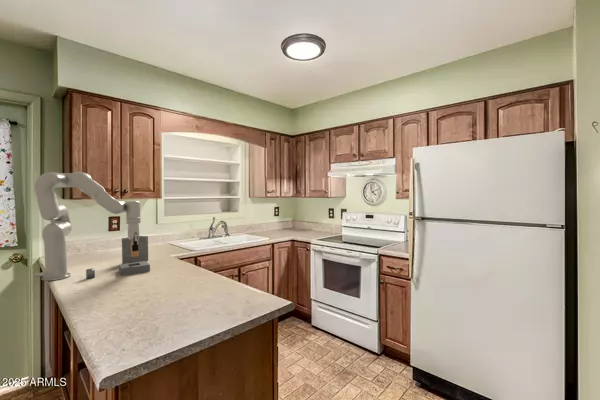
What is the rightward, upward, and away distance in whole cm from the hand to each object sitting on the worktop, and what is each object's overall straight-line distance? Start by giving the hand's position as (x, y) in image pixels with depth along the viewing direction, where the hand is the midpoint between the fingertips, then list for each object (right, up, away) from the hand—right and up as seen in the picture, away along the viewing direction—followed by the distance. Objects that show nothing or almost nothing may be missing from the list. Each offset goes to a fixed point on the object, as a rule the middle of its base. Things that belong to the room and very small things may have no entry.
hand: (134, 250), depth 178 cm
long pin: (0, -4, 0) cm, 4 cm away
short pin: (-17, -13, -14) cm, 26 cm away
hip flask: (-12, -12, +23) cm, 29 cm away
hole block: (0, -13, 0) cm, 13 cm away
